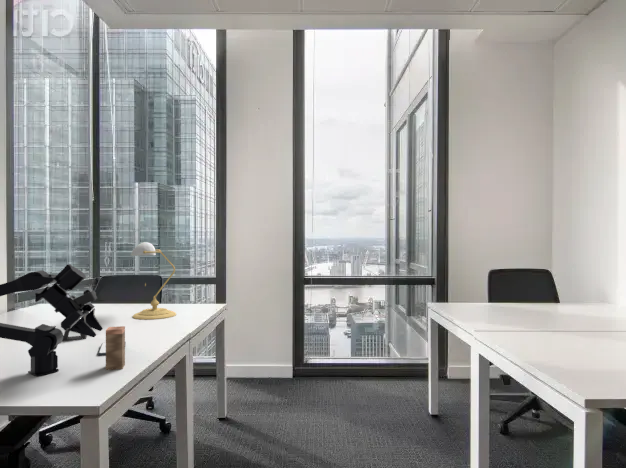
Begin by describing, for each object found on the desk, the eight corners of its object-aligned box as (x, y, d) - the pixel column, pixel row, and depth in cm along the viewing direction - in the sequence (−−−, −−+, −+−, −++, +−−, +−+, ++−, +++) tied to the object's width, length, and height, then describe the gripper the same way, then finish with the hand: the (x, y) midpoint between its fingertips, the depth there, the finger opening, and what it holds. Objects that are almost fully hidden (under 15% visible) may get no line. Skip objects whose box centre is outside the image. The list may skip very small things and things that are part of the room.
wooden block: (105, 370, 140) (105, 330, 140) (108, 365, 145) (108, 327, 145) (122, 369, 141) (122, 329, 142) (124, 364, 146) (124, 326, 146)
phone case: (123, 355, 160) (125, 344, 175) (123, 351, 160) (125, 340, 175) (97, 358, 156) (101, 346, 171) (97, 353, 156) (101, 342, 171)
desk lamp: (132, 312, 245) (132, 241, 246) (174, 309, 253) (174, 241, 254) (129, 322, 216) (129, 242, 217) (177, 319, 225) (177, 242, 225)
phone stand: (87, 336, 188) (87, 308, 188) (86, 339, 182) (86, 310, 182) (63, 338, 184) (63, 309, 184) (61, 341, 179) (61, 312, 179)
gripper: (72, 285, 132) (111, 320, 134) (87, 279, 150) (122, 310, 152) (43, 312, 130) (83, 347, 132) (62, 303, 148) (97, 333, 150)
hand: (98, 332), depth 142 cm, fingers open, 9 cm apart
